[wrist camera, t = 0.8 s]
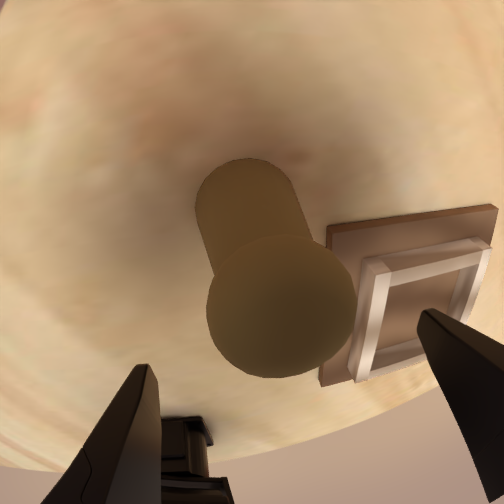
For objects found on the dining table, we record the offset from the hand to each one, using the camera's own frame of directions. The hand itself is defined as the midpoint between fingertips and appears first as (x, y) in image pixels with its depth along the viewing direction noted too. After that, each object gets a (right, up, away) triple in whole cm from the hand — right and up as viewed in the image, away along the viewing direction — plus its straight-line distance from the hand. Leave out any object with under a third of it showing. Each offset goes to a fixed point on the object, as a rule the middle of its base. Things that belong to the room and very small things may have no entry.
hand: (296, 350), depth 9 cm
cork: (-2, +6, +10) cm, 11 cm away
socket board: (+12, -1, +16) cm, 20 cm away
